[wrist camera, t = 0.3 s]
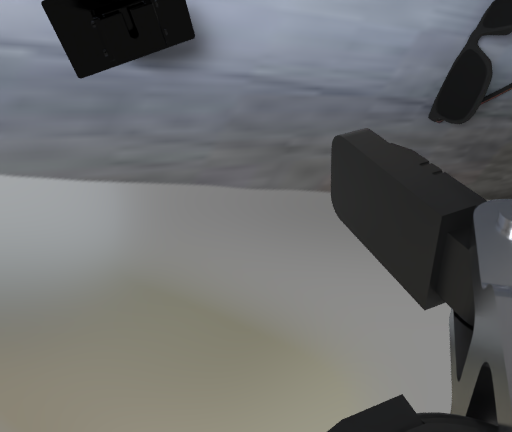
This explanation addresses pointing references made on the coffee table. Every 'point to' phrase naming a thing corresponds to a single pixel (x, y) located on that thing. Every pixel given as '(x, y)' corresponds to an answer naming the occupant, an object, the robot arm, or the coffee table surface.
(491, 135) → the coffee table surface
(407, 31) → the coffee table surface
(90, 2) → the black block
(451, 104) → the sunglasses
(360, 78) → the coffee table surface
